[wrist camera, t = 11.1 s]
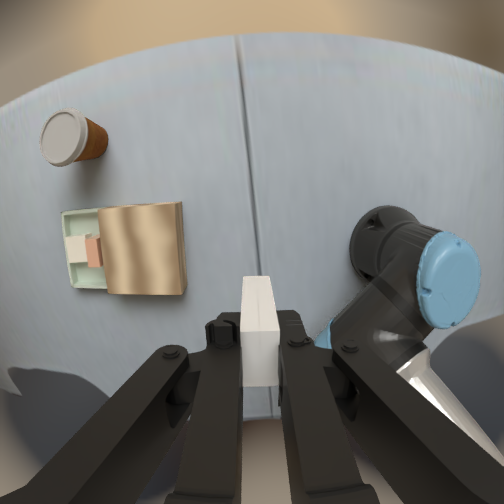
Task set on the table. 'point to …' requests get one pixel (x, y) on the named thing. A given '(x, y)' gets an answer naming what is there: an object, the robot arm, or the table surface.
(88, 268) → the tray
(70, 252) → the cream tile
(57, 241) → the table surface
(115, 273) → the tan wooden flat block
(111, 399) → the robot arm
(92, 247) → the terracotta tile
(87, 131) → the disposable coffee cup
